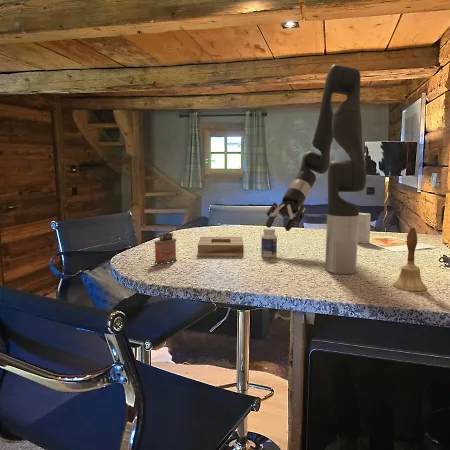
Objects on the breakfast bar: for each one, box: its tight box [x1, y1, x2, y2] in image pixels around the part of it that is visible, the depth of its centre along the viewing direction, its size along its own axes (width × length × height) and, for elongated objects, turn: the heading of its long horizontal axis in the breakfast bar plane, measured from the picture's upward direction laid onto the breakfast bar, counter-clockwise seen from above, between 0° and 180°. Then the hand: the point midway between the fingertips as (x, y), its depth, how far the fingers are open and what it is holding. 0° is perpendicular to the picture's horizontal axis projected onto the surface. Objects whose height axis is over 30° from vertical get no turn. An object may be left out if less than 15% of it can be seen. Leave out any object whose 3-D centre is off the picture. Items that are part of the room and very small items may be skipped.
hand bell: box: [392, 227, 428, 292], centre depth 113 cm, size 8×8×16 cm
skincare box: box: [357, 212, 372, 245], centre depth 175 cm, size 6×4×12 cm
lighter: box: [153, 231, 177, 265], centre depth 140 cm, size 8×3×10 cm, turn 135°
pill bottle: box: [260, 227, 278, 258], centre depth 150 cm, size 5×5×10 cm
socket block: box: [197, 236, 245, 257], centre depth 158 cm, size 16×16×4 cm
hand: (276, 228), depth 152 cm, fingers open, 8 cm apart
